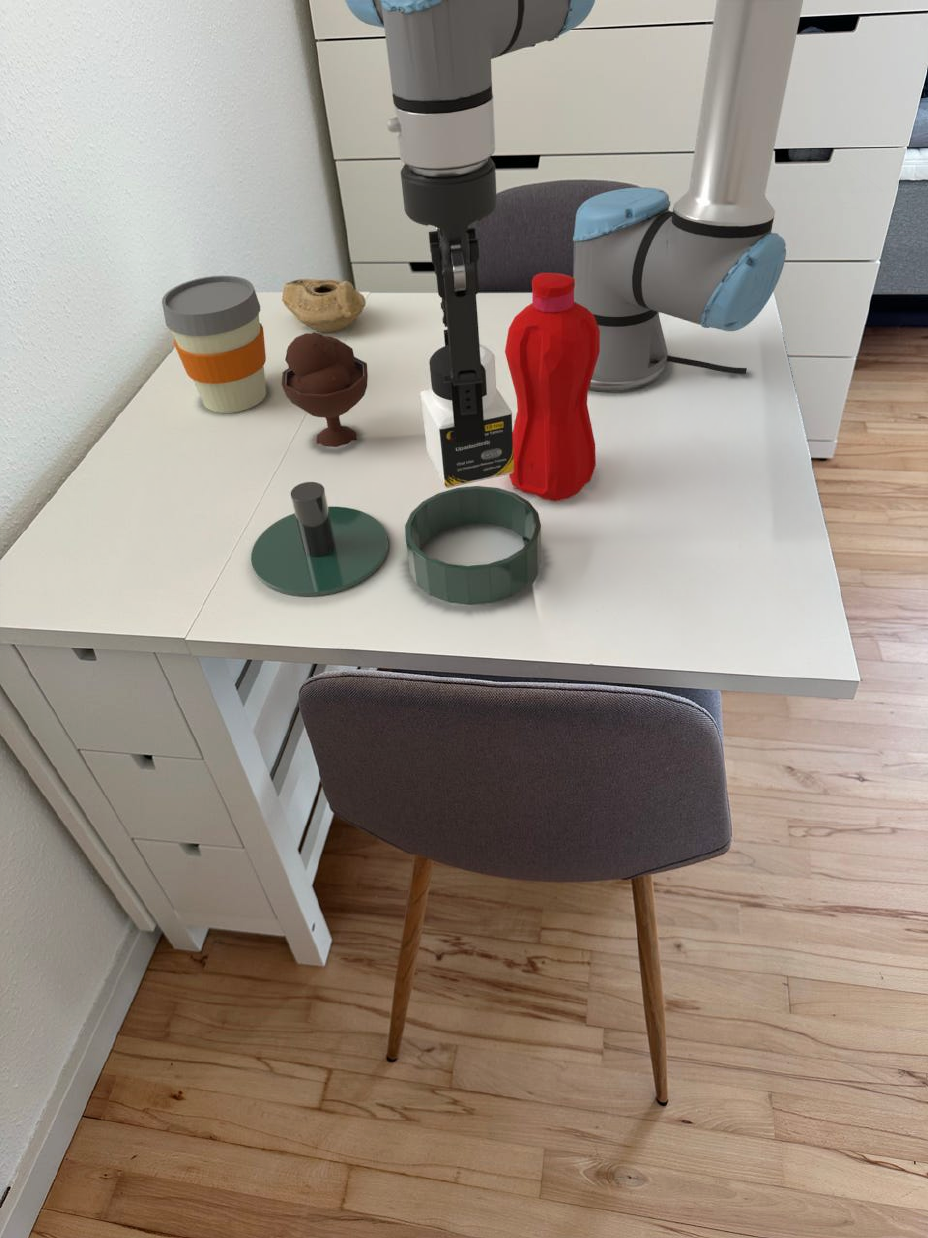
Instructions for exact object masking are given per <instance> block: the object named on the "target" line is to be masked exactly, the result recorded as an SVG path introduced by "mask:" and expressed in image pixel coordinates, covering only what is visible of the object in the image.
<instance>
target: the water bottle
mask: <svg viewBox="0 0 928 1238" xmlns="http://www.w3.org/2000/svg"><path fill="white" fill-rule="evenodd" d="M574 287H575V279H574V278H573V276H571V275H568V274H564V273H559V272H540V273H537V274H536V275H534V276H533V278H532V280H531V289H532V292H531V294H532V296H531V297H532V298H531V299H532V302H531V303H530V304H528V305H527V306H525V307H524V308H523V309H522V310H521V311H519V313H517V315H515V316H514V317H513V319H512V321H511V324H510V325H509V327H508V330H507V335H506V336H507V337H506V341H505V348H504V354H505V358H506V361H507V366H508V369H509V373H510V378H511V381H512V385H513V388H514V393H515V397H516V407H517V410H516V411H517V412H516V416H515V420H514V425H513V427H512V432H513V460H514V471H513V473H511V474H508V476H509V479H510V482H511V485H512V486H513V487H514V488H516V489H518V490H519V491H521V492H522V493H525V494H530V495H535V496H536V497H539V498H541V499H542V500H547V501H550V502H551V501H552V502H558V501H563V500H568V499H571V498H572V497H574V496H575V495H577V494H579V493H580V492H581V490H582V489H584V487H585V485H587V484H588V483H589V482H591V479H592V476H593V474H594V471H595V468H596V465H597V464H596V463H597V461H596V460H597V459H596V458H597V457H596V442H595V437H594V432H593V427H592V422H591V416H590V412H589V408H588V407H589V406H588V395H589V394H588V393H589V390H590V389H589V387H590V383H591V380H592V376H593V373H594V369H595V366H596V363H597V359H598V356H599V352H600V330H599V327H598V325H597V322H596V319H595V317H594V315H593V314H592V313H591V312H590V311H589V310H588V309H587V308H585V307H583V306H581V305H580V304H578V303H576V302H574Z"/></svg>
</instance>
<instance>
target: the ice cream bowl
mask: <svg viewBox="0 0 928 1238" xmlns="http://www.w3.org/2000/svg"><path fill="white" fill-rule="evenodd" d="M284 360H285V362H286V364H287V366H288V368H287V369H285V370H284V371H283V372H282V374H281V375H282V377H281V378H282V379H281V387H282V390H283V392H284V395H285V397H287V399H288V400H289V401H290V403H291V404H293V405H294V406H296V407H297V408H299V409H301V410H303V411H304V412H306V413H307V414H308V415H310V416H313V417H316V418H324V419H325V420H326V426H327V427H325V428H324V429H323V430H321V431H320V432H319V433H318V434H316V445H319V444H320V445H321V446H323V447H329V448H338V447H342V446H345V445H348V444H349V443H351V442H352V441H357V440H358V436H357V435H358V434H357V432H356V431H355V430H354V429H353V428H351V427H349V426H348V425H342V424H341V420H340V416H342V415H345V414H346V413H347V412H349V411H350V410H351V409H352V408H353V407H354V406H356V405H357V404H358V403H359V402H360V401H361V400H362V399H363V398H364V396H365V394H366V391H367V389H368V381H369V379H368V378H369V375H368V374H369V373H368V363H367V362H366V361H364V360H361V359H359V358H357V357H355V353H354V349H353V348H352V347H351V346H349V345H348V344H346V343H345V342H343V341H341V340H340V339H339V338H336V337H334V336H332V335H331V336H330V335H324V334H321V333H318V332H312V333H308V332H305V333H303V334H300V335H298V336H296V337H295V338H294V339H293V340H292V341H291V342H290V344H289V345H288V346H287V349H286V354H285V359H284Z"/></svg>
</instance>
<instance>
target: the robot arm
mask: <svg viewBox="0 0 928 1238" xmlns="http://www.w3.org/2000/svg"><path fill="white" fill-rule="evenodd" d="M344 2H345V5H346V6H347V8H348V10H349V11H350V12H351V14H352V15H353V16H354V17H355V18H356V19H358V20H359V21H360V22H362V23H364V24H366V25H369V26H374V27H378V28H383V29H384V37H385V44H386V52H387V60H388V67H389V76H390V83H391V84H390V85H391V94H392V100H393V101H392V102H393V105H394V114H395V116H396V117H393V118H389V119H388V120H387V130H388V131H389V132H390V133H393V134H395V133H398V134H397V145H398V153H399V155H398V156H399V159H400V160H401V162H403V163H404V165H403V167H402V168H401V170H400V179H401V181H400V182H401V189H402V198H403V207H404V212H405V214H406V216H407V217H408V219H410V220H411V221H413V222H414V223H416V224H418V225H422V226H426V227H428V226H432V227H435V230H433V231H432V230H431V231H428V241H429V249H430V251H429V252H430V255H431V256H430V257H431V262H432V264H433V266H434V275H435V277H436V286H437V288H436V289H437V294H438V296H439V297H440V299H441V302H440V309H441V310H442V313H443V315H442V324H443V325H444V328H446V329H443V338H444V346H447V345H449V351H450V362H451V372H450V374H449V375H443V379H444V383H447V382H450V383H451V395H452V407H453V418H454V430H455V440H456V443H458V442H467V441H477V440H485V433H484V416H483V399H482V381H483V372H482V371H481V359H480V333H479V331H480V330H479V317H478V305H477V304H478V303H477V295H478V293H479V291H480V285H479V284H480V283H479V274H478V262H479V259H480V249H479V247H480V246H479V240H478V239H479V238H477V234H476V227H474V226H471V227H469V226H470V225H472V224H473V223H475V222H477V221H483V220H484V219H486V218H488V216H490V215H492V213H493V212H494V211H495V209H496V208H497V202H498V201H497V200H498V199H497V181H496V180H497V175H496V174H497V173H496V163H495V162H494V160H493V159H492V158H491V157H492V156H493V155H494V154H495V151H496V132H495V131H496V130H495V129H496V128H495V110H494V108H495V106H494V94H493V78H492V77H493V76H492V72H493V71H492V60H493V59H496V58H498V57H502V56H504V55H507V54H510V53H513V52H516V51H519V50H523V49H525V48H529V47H531V46H534V45H537V44H540V43H544V42H546V41H547V42H552V41H555V39H559V37H560V36H562V35H563V34H566V33H568V32H570V31H571V30H574V29H575V28H577V27H579V26H580V25H581V24H582V23H583V22H584V21H585V20H586V19H587V17H588V16H589V15H590V14H591V11H592V10H593V7H594V5H595V3H596V0H344ZM715 2H716V3H715V9H714V17H713V23H712V29H711V35H710V36H711V37H710V44H709V51H708V57H707V63H706V71H705V76H704V77H705V79H704V85H703V91H702V98H701V104H700V111H699V119H698V124H697V125H698V126H697V131H696V132H697V133H696V139H695V145H694V151H693V152H694V153H693V159H692V167H691V173H690V179H689V185H688V186H689V187H688V190H687V192H686V193H684V194H683V195H682V196H681V197H680V198H679V199H677V200H676V201H675V202H674V203H673V207H672V211H671V210H670V207H671V201H670V196H669V194H668V193H667V192H665V190H663V189H660V188H656V187H649V186H648V187H645V186H644V187H643V186H641V187H626V188H620V189H614V190H611V191H610V190H609V191H605V192H603V193H599V194H597V195H594V196H591V197H590V198H588V199H586V200H584V202H582V204H581V205H580V206H579V207H578V208H577V211H576V214H575V223H574V232H573V233H574V234H573V236H572V241H573V269H572V270H573V276H572V277H573V278H574V279H575V287H574V302H576V303H578V304H580V305H581V306H583V307H585V308H587V309H588V310H589V311H590V312H591V313H592V314H593V315H594V317H595V319H596V322H597V325H598V327H599V330H600V352H599V356H598V359H597V363H596V366H595V369H594V373H593V376H592V380H591V383H590V387H589V390H591V391H596V392H607V393H617V392H618V393H619V392H620V393H621V392H629V391H635V390H639V389H642V388H645V387H649V386H650V385H652V384H653V385H654V383H656V382H658V381H659V380H660V379H661V378H662V377H663V376H665V374H666V372H667V369H668V363H674V364H680V365H685V366H690V367H691V366H692V367H697V368H702V369H707V370H712V371H717V372H721V373H726V374H727V373H728V374H735V375H747V372H748V371H747V370H748V369H747V367H735V366H726V365H722V364H715V363H712V362H706V361H702V360H696V359H690V358H685V357H680V356H673V355H669V354H668V353H669V352H668V347H667V343H666V338H665V335H664V334H665V333H664V330H663V326H662V323H661V318H660V314H664V315H667V316H671V317H673V318H677V319H680V320H683V321H687V322H690V323H693V324H696V325H699V326H701V327H702V328H705V329H709V328H711V329H716V330H720V331H724V332H736V331H739V330H742V329H744V328H746V327H747V326H748V325H749V324H750V323H752V322H753V321H754V320H755V319H756V318H758V316H759V315H760V313H761V312H762V310H763V309H764V308H765V306H766V305H767V304H768V302H769V300H770V298H771V297H772V295H773V293H774V291H775V289H776V287H777V285H778V283H779V280H780V278H781V275H782V272H783V269H784V265H785V263H786V257H787V249H786V246H787V244H786V240H785V239H784V237H782V236H781V235H779V233H777V232H772V231H773V224H774V220H775V215H776V210H775V208H774V207H773V205H772V204H771V203H770V201H769V200H768V199H767V197H766V191H767V186H768V181H769V176H770V171H771V165H772V161H773V154H774V150H775V146H776V141H777V140H776V139H777V135H778V130H779V125H780V119H781V115H782V110H783V105H784V99H785V95H786V88H787V84H788V79H789V74H790V69H791V64H792V59H793V54H794V50H795V43H796V39H797V33H798V29H799V28H798V27H799V25H800V18H801V15H802V14H801V13H802V8H803V4H804V0H716V1H715Z"/></svg>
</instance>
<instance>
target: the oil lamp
mask: <svg viewBox="0 0 928 1238" xmlns="http://www.w3.org/2000/svg"><path fill="white" fill-rule="evenodd" d="M281 301H282V303H283V305H284V307H286V308H287V309H288V311H290V313H291V314H292V315H293V316H294V317H296V319H297V320H298V321H299V322H300V323H301V324H303V325H305V326H307V327H308V328H310V329H312V330H314V331H316V332H319V333H331V332H336V331H341V330H344V329H346V328H347V327H349V326H350V325H351V323H352V322H353V321H355V319H357V318H358V317H359V316H360V315H361V313H362V312H363V310H364V308H365V307H366V303H367V302H366V298H365V296H364V295H363V294H362V293H360V292H359V291H358V290H357V289H355V287H354V285H353V284H352V283H351V281H348V280H344V281H342V280H338V279H314V278H304V279H303V278H299V279H295V280H291V281H289V282H287V283H284V285H283V292H282V297H281Z"/></svg>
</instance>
